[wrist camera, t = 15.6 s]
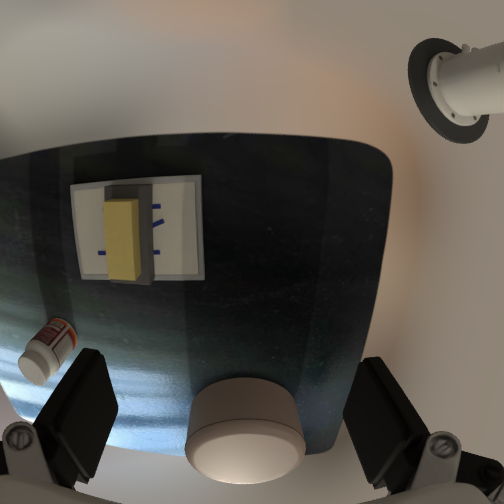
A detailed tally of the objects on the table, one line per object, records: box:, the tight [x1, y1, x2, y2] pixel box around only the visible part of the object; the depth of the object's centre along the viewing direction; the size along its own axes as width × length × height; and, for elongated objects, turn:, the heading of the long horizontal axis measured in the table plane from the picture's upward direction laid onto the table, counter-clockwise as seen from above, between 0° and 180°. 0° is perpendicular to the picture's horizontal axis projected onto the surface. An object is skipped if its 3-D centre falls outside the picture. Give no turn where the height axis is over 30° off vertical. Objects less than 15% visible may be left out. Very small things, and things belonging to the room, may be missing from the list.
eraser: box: [103, 184, 155, 285], centre depth 33 cm, size 12×6×5 cm, turn 177°
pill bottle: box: [18, 318, 77, 386], centre depth 34 cm, size 6×6×11 cm
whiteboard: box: [70, 175, 205, 280], centre depth 35 cm, size 18×13×1 cm
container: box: [185, 377, 306, 484], centre depth 40 cm, size 18×18×12 cm
